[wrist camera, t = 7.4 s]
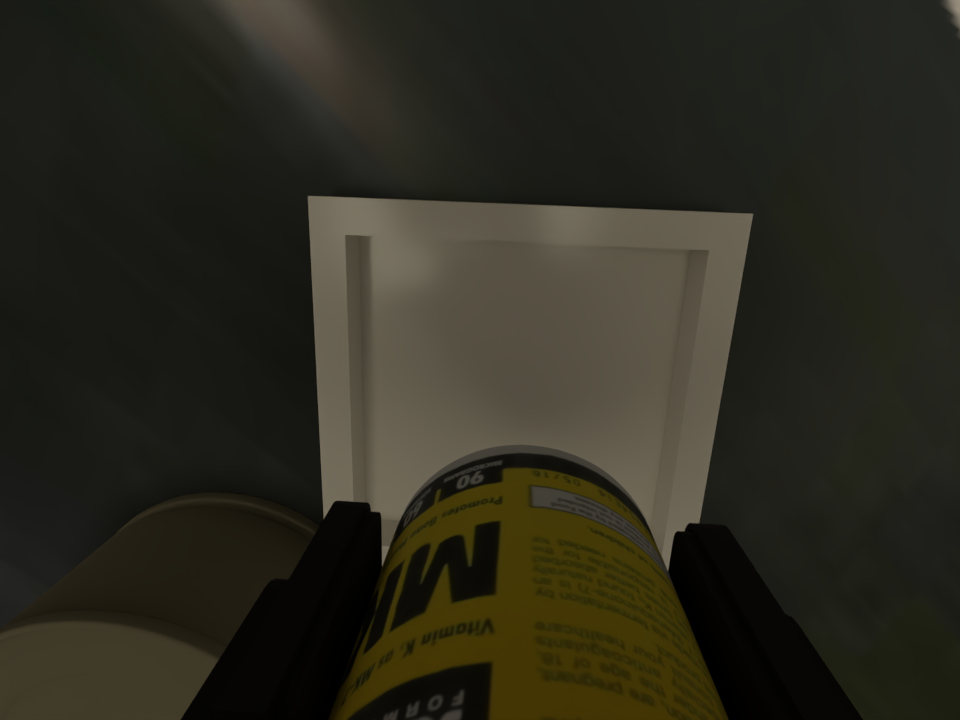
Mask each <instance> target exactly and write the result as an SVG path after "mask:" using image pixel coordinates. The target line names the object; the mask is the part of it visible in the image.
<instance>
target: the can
mask: <svg viewBox="0 0 960 720" xmlns="http://www.w3.org/2000/svg"><path fill="white" fill-rule="evenodd" d="M319 526H320V525H318V524H317V523H315V522H314V521H312V520H311V519H309V518H307V517H306V516H304V515H302V514H300V513H298V512H296V511H294V510H292V509H290V508H288V507H286V506H283V505H280V504H278V503H275V502H272V501H269V500H266V499H262V498H259V497H254V496H249V495H244V494H237V493H228V492H205V493H195V494H189V495H183V496H179V497H175V498H172V499H168V500H166V501H163V502H161V503H158V504H156V505H154V506H152V507H150V508H148V509H146V510H144V511H143V512H141V513H140V514H138V515H137V516H135V517H134V518H133V519H131V520H130V521H129V522H128V523H127V524H125V525H124V526H123V527H122V528H121V529H120V530H118V532H117V533H116V534H115V535H114V536H113V537H111V538H110V539H109V540H108V541H106V542H105V543H104V544H103V545H101V546H100V547H99V548H98V549H96V550H95V551H94V552H93V553H92V554H91V555H89V556H88V557H87V558H86V559H85V560H83V561H82V562H81V563H80V564H79V565H77V566H76V567H75V568H74V569H73V570H71V571H70V572H69V573H68V574H67V575H65V576H64V577H63V578H62V579H61V580H59V581H58V582H57V583H56V584H55V585H53V586H52V587H51V588H50V589H49V590H47V591H46V592H45V593H44V594H43V595H41V596H40V597H39V598H38V599H37V600H35V601H34V602H33V603H32V604H31V605H29V606H28V607H27V608H26V609H24V610H23V611H22V612H21V613H20V614H18V615H17V616H16V617H15V618H14V619H12V620H11V621H10V622H8V623H7V624H6V625H4V626H3V627H1V628H0V720H181V718H182V717H183V715H184V713H185V712H186V710H187V709H188V707H189V706H190V704H191V702H192V701H193V699H194V698H195V696H196V695H197V693H198V691H199V690H200V688H201V687H202V685H203V684H204V682H205V680H206V679H207V677H208V676H209V674H210V673H211V671H212V669H213V668H214V666H215V665H216V663H217V662H218V660H219V658H220V657H221V655H222V654H223V652H224V651H225V649H226V647H227V646H228V644H229V643H230V641H231V640H232V638H233V636H234V635H235V633H236V632H237V630H238V629H239V627H240V625H241V624H242V622H243V621H244V619H245V618H246V616H247V614H248V613H249V611H250V610H251V608H252V607H253V605H254V603H255V602H256V600H257V599H258V597H259V596H260V594H261V592H262V591H263V589H264V588H265V587H266V585H267V584H268V583H269V582H270V581H271V580H273V579H275V578H278V579H289V578H290V576H291V574H292V572H293V571H294V569H295V567H296V566H297V564H298V562H299V560H300V559H301V557H302V555H303V554H304V552H305V550H306V549H307V547H308V545H309V543H310V542H311V540H312V538H313V537H314V535H315V533H316V532H317V530H318V528H319Z"/></svg>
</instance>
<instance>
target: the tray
mask: <svg viewBox="0 0 960 720" xmlns="http://www.w3.org/2000/svg"><path fill="white" fill-rule="evenodd" d="M308 210H309V230H310V250H311V271H312V291H313V311H314V331H315V352H316V372H317V392H318V413H319V433H320V453H321V473H322V494H323V514H324V518H325V516H326V515H327V513H328V511H329V509H330V508H331V506H332V504H333V503H334V502H335V501H352V502H367V503H369V504H370V508H371V512H380V513H381V525H382V566H383V563H384V560H385V558H386V555H387V552H388V550H389V547H390V544H391V542H392V539H393V536H394V534H395V531H396V528H397V526H398V523H399V521H400V518H401V516H402V514H403V512H404V510H405V508H406V506H407V505H408V503H409V502H410V500H411V499H412V497H413V496H414V495H415V493H416V492H417V491H418V490H419V489H420V487H421V486H422V485H423V484H424V483H425V482H426V481H427V480H428V479H429V478H431V477H432V476H433V475H434V474H435V473H437V472H438V471H439V470H441V469H442V468H443V467H445V466H446V465H448V464H450V463H452V462H453V461H455V460H457V459H459V458H461V457H463V456H466V455H468V454H471V453H474V452H476V451H480V450H483V449H487V448H492V447H497V446H506V445H533V446H541V447H548V448H553V449H557V450H561V451H564V452H567V453H570V454H573V455H575V456H578V457H580V458H582V459H584V460H587V461H589V462H591V463H592V464H594V465H596V466H598V467H599V468H601V469H602V470H604V471H605V472H607V473H608V474H609V475H610V476H612V477H613V478H614V479H615V480H616V481H617V482H618V483H619V484H620V485H621V486H622V487H623V488H624V489H625V490H626V491H627V492H628V493H629V494H630V495H631V497H632V498H633V499H634V501H635V502H636V504H637V505H638V507H639V508H640V510H641V512H642V513H643V515H644V517H645V519H646V521H647V523H648V526H649V528H650V530H651V533H652V535H653V538H654V540H655V543H656V545H657V548H658V549H659V552H660V554H661V556H662V558H663V560H664V563H665V565H666V568H667V570H668V569H669V563H670V556H671V550H672V544H673V538H674V535H675V533H676V532H677V531H685V528H686V526H687V524H689V523H699V521H700V516H701V510H702V504H703V498H704V493H705V487H706V481H707V476H708V470H709V464H710V458H711V453H712V447H713V441H714V435H715V430H716V424H717V418H718V412H719V407H720V401H721V395H722V390H723V384H724V378H725V372H726V367H727V361H728V355H729V349H730V344H731V338H732V332H733V327H734V321H735V315H736V309H737V304H738V298H739V292H740V286H741V281H742V275H743V269H744V263H745V258H746V252H747V246H748V241H749V235H750V229H751V223H752V218H753V214H747V213H732V212H713V211H688V210H663V209H639V208H614V207H589V206H564V205H539V204H514V203H490V202H465V201H440V200H415V199H390V198H366V197H341V196H308Z"/></svg>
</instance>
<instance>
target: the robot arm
mask: <svg viewBox="0 0 960 720" xmlns="http://www.w3.org/2000/svg"><path fill="white" fill-rule="evenodd" d="M381 569H382V525H381V513H380V512H371V508H370V504H369V503H367V502H352V501H335V502H334V503H333V504H332V506H331V508H330V509H329V511H328V513H327V515H326V516H325V518H324V520H323V521H322V523H321V525H320V526H319V528H318V530H317V532H316V533H315V535H314V537H313V538H312V540H311V542H310V543H309V545H308V547H307V549H306V550H305V552H304V554H303V555H302V557H301V559H300V560H299V562H298V564H297V566H296V567H295V569H294V571H293V572H292V574H291V576H290V578H289V579H278V578H275V579H273V580H271V581H270V582H269V583H268V584H267V585H266V587H265V588H264V589H263V591H262V592H261V594H260V596H259V597H258V599H257V600H256V602H255V603H254V605H253V607H252V608H251V610H250V611H249V613H248V614H247V616H246V618H245V619H244V621H243V622H242V624H241V625H240V627H239V629H238V630H237V632H236V633H235V635H234V636H233V638H232V640H231V641H230V643H229V644H228V646H227V647H226V649H225V651H224V652H223V654H222V655H221V657H220V658H219V660H218V662H217V663H216V665H215V666H214V668H213V669H212V671H211V673H210V674H209V676H208V677H207V679H206V680H205V682H204V684H203V685H202V687H201V688H200V690H199V691H198V693H197V695H196V696H195V698H194V699H193V701H192V702H191V704H190V706H189V707H188V709H187V710H186V712H185V713H184V715H183V717H182V718H181V720H328V719H329V716H330V713H331V710H332V707H333V704H334V702H335V699H336V696H337V693H338V690H339V687H340V684H341V681H342V678H343V676H344V673H345V670H346V668H347V665H348V662H349V659H350V656H351V654H352V651H353V648H354V645H355V642H356V639H357V637H358V634H359V632H360V629H361V626H362V623H363V621H364V618H365V615H366V612H367V609H368V606H369V603H370V600H371V597H372V595H373V592H374V589H375V586H376V583H377V580H378V577H379V575H380V572H381ZM668 573H669V575H670V577H671V580H672V583H673V585H674V587H675V590H676V592H677V595H678V597H679V600H680V602H681V604H682V607H683V609H684V611H685V614H686V616H687V619H688V621H689V623H690V626H691V628H692V631H693V633H694V636H695V638H696V641H697V643H698V646H699V648H700V651H701V653H702V655H703V658H704V660H705V663H706V665H707V667H708V670H709V672H710V675H711V677H712V679H713V682H714V684H715V687H716V689H717V691H718V694H719V696H720V699H721V701H722V703H723V706H724V708H725V711H726V713H727V716H728V718H729V720H863V719H862V718H861V716H860V715H859V713H858V712H857V710H856V709H855V707H854V706H853V704H852V703H851V701H850V700H849V698H848V697H847V695H846V694H845V693H844V691H843V690H842V688H841V687H840V685H839V684H838V682H837V681H836V679H835V678H834V676H833V675H832V673H831V672H830V670H829V669H828V667H827V666H826V665H825V663H824V662H823V660H822V659H821V657H820V656H819V654H818V653H817V651H816V650H815V648H814V647H813V645H812V644H811V642H810V641H809V639H808V638H807V637H806V635H805V634H804V632H803V631H802V629H801V628H800V626H799V625H798V624H797V623H796V621H795V620H794V619H793V618H792V617H790V616H788V615H787V614H785V613H784V612H783V610H782V609H781V607H780V605H779V604H778V602H777V601H776V599H775V598H774V596H773V595H772V593H771V592H770V590H769V589H768V587H767V586H766V584H765V583H764V581H763V580H762V578H761V577H760V575H759V574H758V572H757V571H756V569H755V568H754V566H753V565H752V563H751V562H750V560H749V559H748V557H747V556H746V554H745V553H744V551H743V550H742V548H741V547H740V545H739V544H738V542H737V541H736V539H735V538H734V536H733V535H732V533H731V532H730V530H729V529H728V528H727V527H726V526H725V525H716V524H700V523H689V524H687V526H686V528H685V531H677V532H676V533H675V535H674V538H673V544H672V550H671V556H670V563H669V569H668Z"/></svg>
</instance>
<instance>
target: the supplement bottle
mask: <svg viewBox="0 0 960 720" xmlns="http://www.w3.org/2000/svg"><path fill="white" fill-rule="evenodd" d="M328 720H729V718H728V716H727V713H726V711H725V708H724V706H723V703H722V701H721V699H720V696H719V694H718V691H717V689H716V687H715V684H714V682H713V679H712V677H711V675H710V672H709V670H708V667H707V665H706V663H705V660H704V658H703V655H702V653H701V651H700V648H699V646H698V643H697V641H696V638H695V636H694V633H693V631H692V628H691V626H690V623H689V621H688V619H687V616H686V614H685V611H684V609H683V607H682V604H681V602H680V600H679V597H678V595H677V592H676V590H675V587H674V585H673V583H672V580H671V577H670V575H669V573H668V570H667V568H666V565H665V563H664V560H663V558H662V556H661V554H660V552H659V549H658V548H657V545H656V543H655V540H654V538H653V535H652V533H651V530H650V528H649V526H648V523H647V521H646V519H645V517H644V515H643V513H642V512H641V510H640V508H639V507H638V505H637V504H636V502H635V501H634V499H633V498H632V497H631V495H630V494H629V493H628V492H627V491H626V490H625V489H624V488H623V487H622V486H621V485H620V484H619V483H618V482H617V481H616V480H615V479H614V478H613V477H612V476H610V475H609V474H608V473H607V472H605V471H604V470H602V469H601V468H599V467H598V466H596V465H594V464H592V463H591V462H589V461H587V460H584V459H582V458H580V457H578V456H575V455H573V454H570V453H567V452H564V451H561V450H557V449H553V448H548V447H541V446H533V445H506V446H497V447H492V448H487V449H483V450H480V451H476V452H474V453H471V454H468V455H466V456H463V457H461V458H459V459H457V460H455V461H453V462H452V463H450V464H448V465H446V466H445V467H443V468H442V469H441V470H439V471H438V472H437V473H435V474H434V475H433V476H432V477H431V478H429V479H428V480H427V481H426V482H425V483H424V484H423V485H422V486H421V487H420V489H419V490H418V491H417V492H416V493H415V495H414V496H413V497H412V499H411V500H410V502H409V503H408V505H407V506H406V508H405V510H404V512H403V514H402V516H401V518H400V521H399V523H398V526H397V528H396V531H395V534H394V536H393V539H392V542H391V544H390V547H389V550H388V552H387V555H386V558H385V560H384V563H383V566H382V569H381V572H380V575H379V577H378V580H377V583H376V586H375V589H374V592H373V595H372V597H371V600H370V603H369V606H368V609H367V612H366V615H365V618H364V621H363V623H362V626H361V629H360V632H359V634H358V637H357V639H356V642H355V645H354V648H353V651H352V654H351V656H350V659H349V662H348V665H347V668H346V670H345V673H344V676H343V678H342V681H341V684H340V687H339V690H338V693H337V696H336V699H335V702H334V704H333V707H332V710H331V713H330V716H329V719H328Z"/></svg>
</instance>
